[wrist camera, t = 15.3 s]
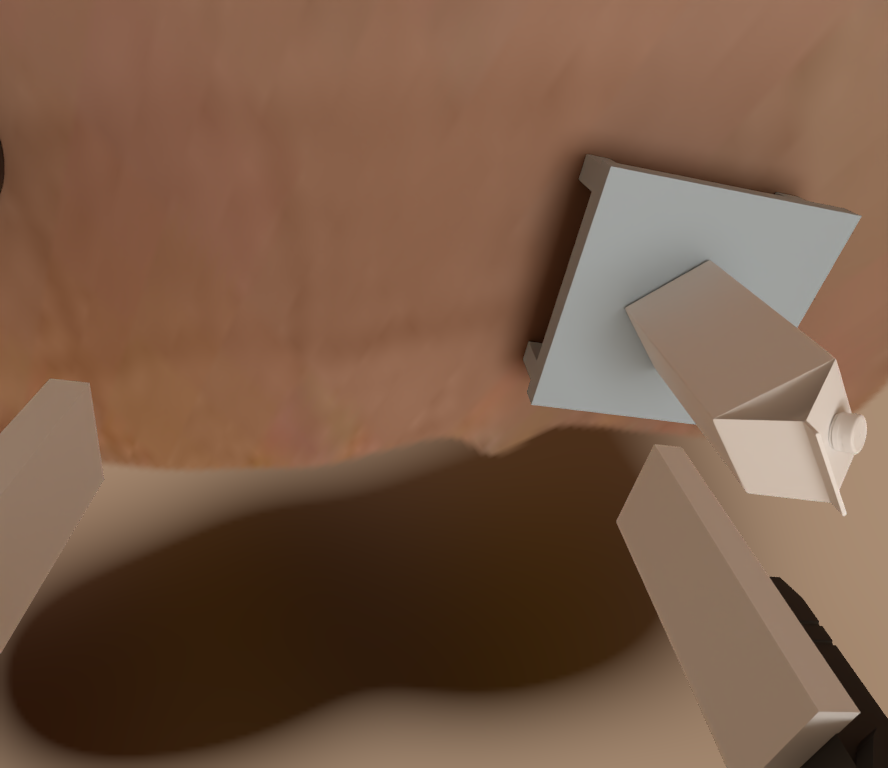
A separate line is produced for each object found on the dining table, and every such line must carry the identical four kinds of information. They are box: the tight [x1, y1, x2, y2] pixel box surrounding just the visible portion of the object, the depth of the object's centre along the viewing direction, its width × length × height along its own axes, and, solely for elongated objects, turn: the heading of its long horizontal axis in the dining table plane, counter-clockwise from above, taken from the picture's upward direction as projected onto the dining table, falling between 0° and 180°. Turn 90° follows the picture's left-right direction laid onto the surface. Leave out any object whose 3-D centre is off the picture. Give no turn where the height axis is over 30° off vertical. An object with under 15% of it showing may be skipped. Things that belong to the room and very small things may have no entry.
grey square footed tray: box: [523, 154, 861, 424], centre depth 49 cm, size 20×20×7 cm
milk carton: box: [625, 260, 867, 516], centre depth 38 cm, size 7×7×19 cm
